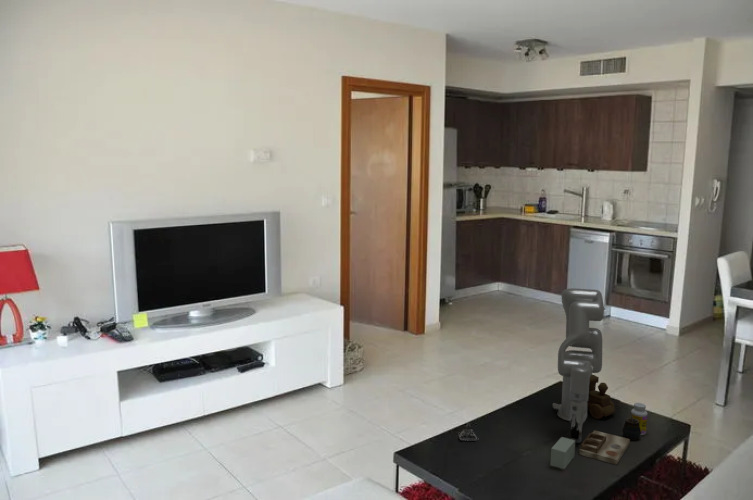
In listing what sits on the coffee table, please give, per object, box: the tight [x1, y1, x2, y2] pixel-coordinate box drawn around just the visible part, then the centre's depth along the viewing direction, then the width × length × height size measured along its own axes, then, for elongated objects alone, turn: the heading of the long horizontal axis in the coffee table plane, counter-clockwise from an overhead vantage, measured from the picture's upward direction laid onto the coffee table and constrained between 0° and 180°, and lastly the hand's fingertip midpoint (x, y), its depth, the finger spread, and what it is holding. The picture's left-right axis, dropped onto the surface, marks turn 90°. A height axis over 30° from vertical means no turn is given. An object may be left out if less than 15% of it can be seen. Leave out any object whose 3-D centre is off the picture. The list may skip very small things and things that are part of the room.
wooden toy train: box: [587, 374, 616, 420], centre depth 289 cm, size 20×11×17 cm, turn 36°
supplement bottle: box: [630, 402, 648, 436], centre depth 268 cm, size 7×7×13 cm
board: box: [578, 429, 631, 465], centre depth 253 cm, size 15×22×4 cm
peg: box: [570, 422, 583, 444], centre depth 258 cm, size 4×4×9 cm
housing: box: [550, 436, 576, 470], centre depth 243 cm, size 6×12×7 cm, turn 145°
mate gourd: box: [622, 411, 641, 441], centre depth 263 cm, size 7×8×10 cm
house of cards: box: [458, 422, 478, 441], centre depth 263 cm, size 9×9×8 cm
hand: (576, 435), depth 259 cm, fingers closed on peg, 4 cm apart
